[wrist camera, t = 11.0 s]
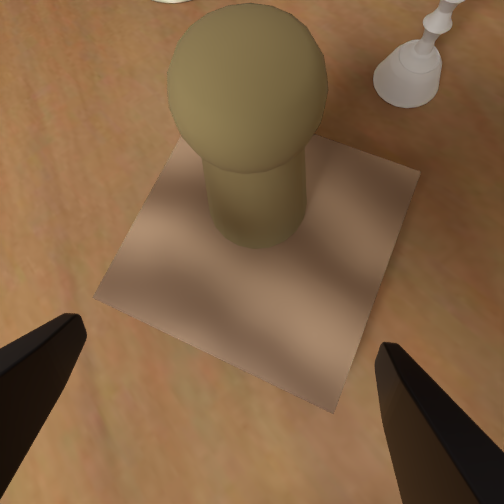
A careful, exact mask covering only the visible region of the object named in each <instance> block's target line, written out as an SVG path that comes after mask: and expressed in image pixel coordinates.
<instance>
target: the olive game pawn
mask: <svg viewBox="0 0 504 504" xmlns="http://www.w3.org/2000/svg"><path fill="white" fill-rule="evenodd" d="M327 93H328V81H327V73H326V67H325V61H324V55H323V54H322V52H321V50H320V48H319V47H318V45H317V43H316V42H315V40H314V38H313V36H312V35H311V33H310V31H309V30H308V28H307V27H306V26H305V25H304V24H303V23H301V22H300V21H299V20H298V19H297V18H295V17H294V16H293V15H292V14H290V13H288V12H285V11H283V10H281V9H278V8H276V7H274V6H269V5H262V4H254V3H245V4H237V5H228V6H226V7H223V8H220V9H218V10H215V11H213V12H210V13H207V14H206V15H205V16H203V17H202V18H201V19H199V20H198V21H196V22H195V23H194V24H192V25H191V26H190V27H189V28H188V29H187V31H186V32H185V33H184V35H183V36H182V37H181V39H180V40H179V41H178V43H177V46H176V48H175V51H174V54H173V57H172V60H171V63H170V66H169V69H168V72H167V94H168V104H169V109H170V111H171V114H172V116H173V119H174V121H175V123H176V126H177V128H178V130H179V132H180V134H181V136H182V138H183V139H184V140H185V141H186V142H187V144H188V145H189V146H190V147H191V148H192V149H193V150H194V151H195V152H196V153H197V154H198V155H199V156H200V157H201V158H202V164H203V171H204V177H205V184H206V191H207V197H208V204H209V211H210V215H211V217H212V220H213V222H214V225H215V227H216V228H217V229H218V230H219V231H220V233H221V234H222V235H223V236H224V237H225V238H226V239H228V240H230V241H231V242H233V243H235V244H237V245H238V246H242V247H247V248H252V249H259V248H270V247H272V246H275V245H277V244H279V243H282V242H284V241H285V240H287V239H288V238H289V237H290V236H291V235H292V234H293V233H295V232H296V231H297V229H298V227H299V226H300V224H301V222H302V221H303V219H304V215H305V210H306V206H307V194H306V167H305V146H306V145H307V144H308V142H309V141H310V139H311V138H312V136H313V134H314V133H315V131H316V130H317V128H318V126H319V125H320V123H321V119H322V116H323V112H324V108H325V103H326V98H327Z"/></svg>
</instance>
